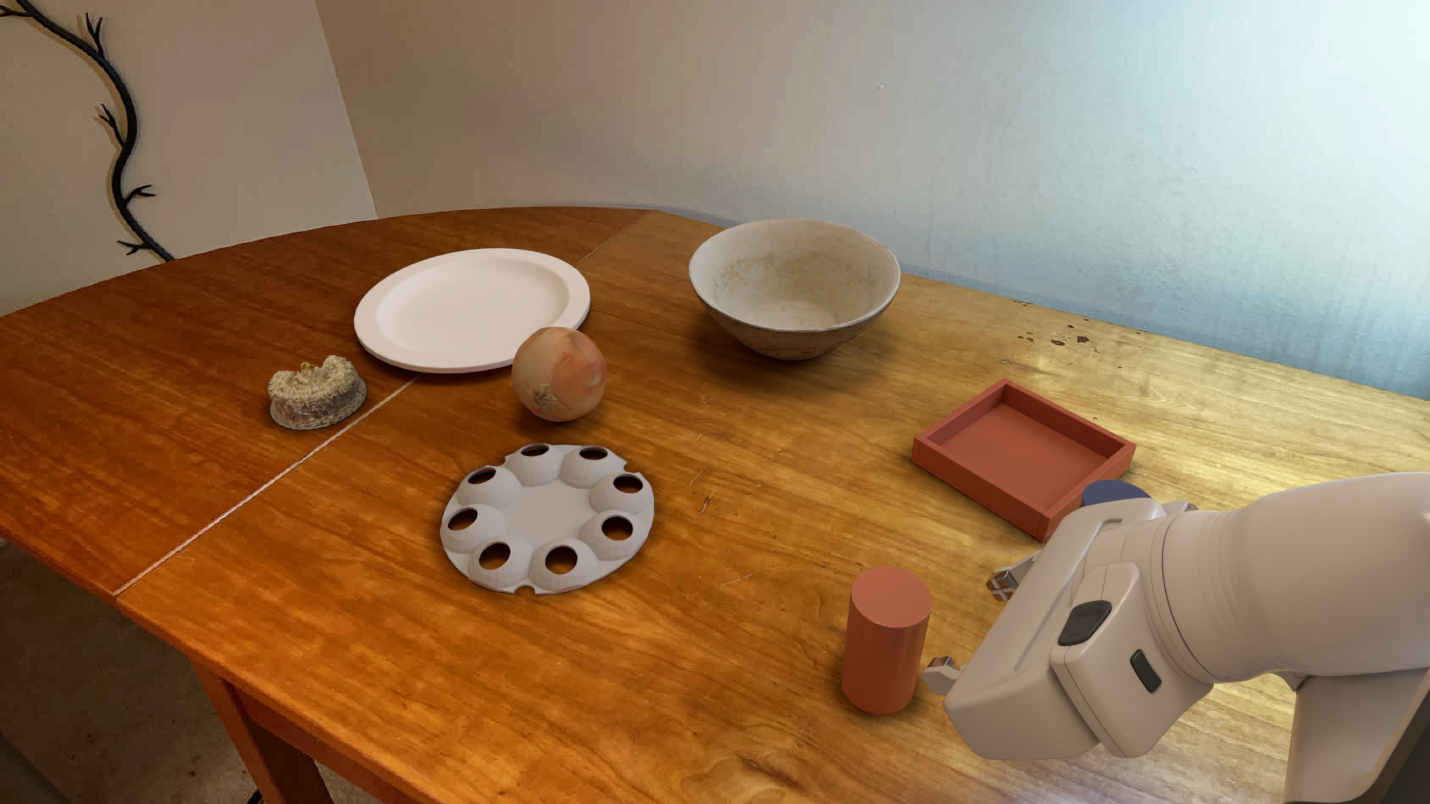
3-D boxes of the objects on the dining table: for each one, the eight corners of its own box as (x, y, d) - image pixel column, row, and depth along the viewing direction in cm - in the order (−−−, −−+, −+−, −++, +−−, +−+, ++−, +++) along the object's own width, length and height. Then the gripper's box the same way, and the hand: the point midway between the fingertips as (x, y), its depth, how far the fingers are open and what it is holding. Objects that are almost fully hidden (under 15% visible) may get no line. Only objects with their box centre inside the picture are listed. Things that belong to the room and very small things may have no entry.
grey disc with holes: (692, 483, 87) (692, 468, 86) (574, 628, 74) (572, 612, 72) (529, 425, 95) (526, 410, 94) (394, 546, 81) (389, 530, 80)
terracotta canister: (927, 703, 68) (947, 616, 62) (858, 723, 67) (872, 636, 60) (894, 645, 72) (909, 558, 66) (828, 663, 71) (838, 575, 65)
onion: (510, 441, 93) (494, 361, 87) (527, 384, 101) (514, 306, 95) (604, 441, 93) (596, 360, 87) (614, 384, 100) (607, 306, 94)
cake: (383, 408, 98) (373, 369, 95) (291, 447, 93) (276, 408, 90) (346, 362, 104) (334, 324, 100) (257, 397, 99) (241, 358, 95)
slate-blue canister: (1139, 606, 75) (1175, 519, 69) (1080, 622, 74) (1112, 535, 68) (1097, 558, 79) (1127, 472, 73) (1041, 573, 78) (1067, 487, 72)
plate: (319, 315, 113) (314, 298, 111) (513, 243, 127) (511, 228, 126) (429, 417, 96) (424, 399, 95) (637, 321, 111) (636, 304, 109)
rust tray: (1129, 468, 89) (1137, 444, 87) (1042, 542, 81) (1050, 518, 79) (999, 399, 98) (1004, 376, 96) (910, 460, 90) (913, 437, 88)
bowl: (838, 422, 95) (845, 342, 89) (651, 356, 105) (646, 280, 99) (921, 320, 111) (932, 246, 105) (752, 271, 121) (753, 201, 115)
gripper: (1184, 455, 56) (1003, 504, 67) (1060, 679, 43) (861, 694, 54) (1236, 539, 56) (1049, 573, 67) (1130, 784, 43) (919, 779, 54)
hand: (964, 629), depth 60 cm, fingers open, 8 cm apart
